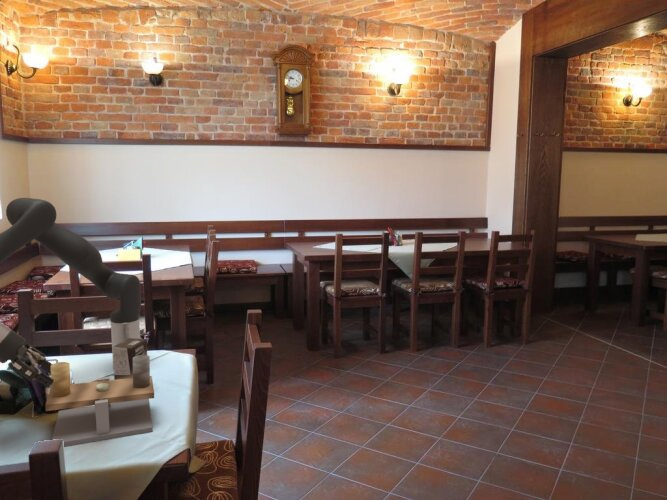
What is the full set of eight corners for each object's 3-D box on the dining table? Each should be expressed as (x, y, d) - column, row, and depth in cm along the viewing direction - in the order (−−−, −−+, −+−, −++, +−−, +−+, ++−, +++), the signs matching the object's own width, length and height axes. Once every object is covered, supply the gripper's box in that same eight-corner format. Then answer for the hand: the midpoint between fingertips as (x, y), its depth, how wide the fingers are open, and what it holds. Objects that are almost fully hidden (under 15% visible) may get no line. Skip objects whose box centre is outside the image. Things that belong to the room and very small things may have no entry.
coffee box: (133, 399, 158) (130, 348, 156) (114, 397, 160) (111, 346, 157) (149, 386, 167) (147, 338, 164) (131, 385, 168) (129, 337, 166)
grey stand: (51, 448, 131) (48, 411, 129) (59, 414, 148) (56, 382, 146) (152, 431, 139) (150, 397, 138) (148, 401, 157) (147, 370, 155)
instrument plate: (45, 412, 131) (43, 375, 130) (51, 390, 143) (50, 357, 142) (154, 399, 141) (154, 365, 140) (151, 380, 153) (151, 348, 152)
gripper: (4, 338, 125) (61, 377, 131) (14, 321, 138) (66, 357, 144) (-20, 362, 124) (38, 400, 130) (-7, 343, 137) (46, 378, 143)
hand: (53, 377), depth 137 cm, fingers open, 8 cm apart
